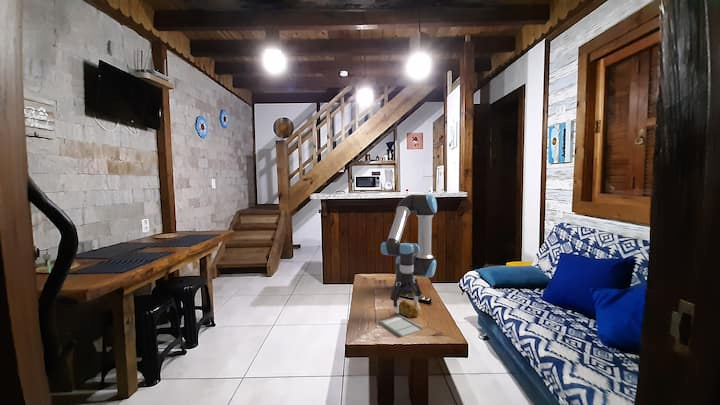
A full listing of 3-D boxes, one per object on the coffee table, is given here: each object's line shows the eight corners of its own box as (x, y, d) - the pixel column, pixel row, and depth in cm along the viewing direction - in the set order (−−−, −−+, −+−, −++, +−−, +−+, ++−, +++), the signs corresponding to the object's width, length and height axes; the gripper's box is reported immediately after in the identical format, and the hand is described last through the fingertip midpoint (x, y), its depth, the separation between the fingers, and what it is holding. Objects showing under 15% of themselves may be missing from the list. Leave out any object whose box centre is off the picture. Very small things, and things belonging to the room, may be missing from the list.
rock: (407, 318, 174) (420, 306, 173) (409, 327, 166) (423, 315, 165) (393, 306, 173) (406, 294, 171) (395, 314, 164) (408, 302, 163)
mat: (399, 316, 166) (399, 314, 166) (422, 329, 151) (422, 327, 151) (378, 322, 159) (378, 320, 159) (400, 337, 144) (400, 334, 144)
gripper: (419, 267, 177) (418, 303, 178) (383, 273, 164) (383, 312, 165) (428, 270, 171) (427, 307, 172) (392, 277, 158) (392, 317, 159)
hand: (406, 309), depth 169 cm, fingers open, 13 cm apart
